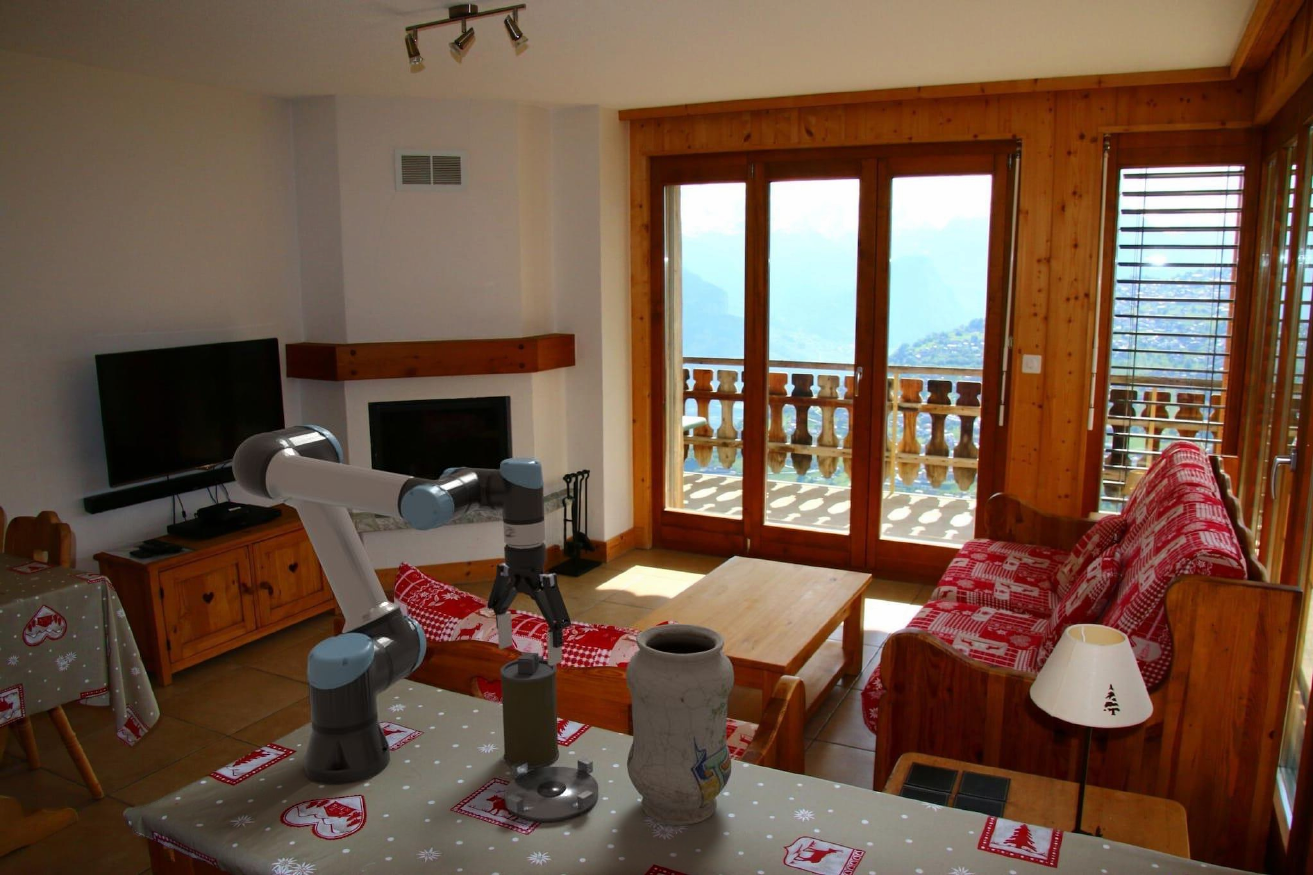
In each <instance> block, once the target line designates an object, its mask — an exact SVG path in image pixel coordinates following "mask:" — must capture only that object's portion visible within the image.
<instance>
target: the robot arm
mask: <svg viewBox="0 0 1313 875" xmlns="http://www.w3.org/2000/svg"><path fill="white" fill-rule="evenodd" d="M343 455H344V454H343V449H342V446H341V445H340V442H339V441H338V439H337V438H336V436H335V435H334V434H333V433H331V431H329V430H327V429H326V428H323V427H321V426H320V425H319V426H318V425H314V424H306V425H305V424H303V425H302V424H301V425H299V424H298V425H294V426H291V427H286V428H282V429H278V430H272V431H269V432H262V433H259V434H255V435H253V436H250V437H248V438H247V439H245V440H244V441H243V442H241V444H240V445H239V446H238V447H237V449H236V451H235V452H234V455H233V458H232V462H231V465H232V467H231V468H232V473H233V477H234V479H235V481H236V483H237V484H238V485H239V487H240V488H242V489H243V490H244V491H245V492H247V493H248V494H251V495H252V496H255V497H258V498H259V497H260V498H264V499H267V500H269V499H270V500H273V501H274V500H275V501H279V502H282V501H283V503H284V505H286V506H289V507H292V508H294V509H296V512H297V515H298V516H299V518H300V520H301V523H302V526H303V528H304V529H305V532H306V534H307V536H308V539H309V541H310V544H311V545H312V547H313V549H314V551H315V554H316V556H317V559H318V560H319V563H320V565H321V567H322V570H323V572H324V574H325V577H326V578H327V581H328V583H329V585H330V587H331V589H332V592H333V594H334V597H335V598H336V601H337V603H338V605H339V607H340V609H341V612H342V614H343V616H344V619H345V623H344V626H343V629H342V631H341V632H342V633H341V634H338V635H337V636H330V637H328V638H326V639H324V640H321V641H320V642H318V643H317V644H316V645H315V646H313V648H312V649H311V650H310V652H309V654H308V656H307V670H306V678H307V682H308V684H307V685H308V696H309V708H310V720H311V732H310V735H309V736H310V737H309V740H308V743H307V744H308V745H307V748H306V752H305V755H304V758H303V759H304V760H303V764H304V774H305V776H306V777H307V778H308V779H309V780H310V781H312V782H315V783H319V784H323V785H344V784H351V783H357V782H359V781H360V782H361V781H363V780H366V779H369V778H371V777H373V776H376V775H377V774H379V773H380V772H382V771H383V770H384V769H385V768H386V767H387V766H388V765H389V763H390V761H391V753H390V752H391V751H390V744H389V742H388V739H387V737H386V735H385V732H384V731H383V729H382V726H381V724H380V722H379V717H378V716H379V714H378V713H379V712H378V698H377V697H378V696H379V695H380V694H381V693H383V692H385V691H386V690H388V689H389V688H390V687H392V686H394V685H395V684H396V683H397V682H400V681H402V680H403V679H406V678H407V677H409V676H410V675H411V674H412V673H413V672H414V671H415V670H416V669H417V668H419V667H420V665H421V664H422V662H423V659H424V658H425V655H426V651H427V639H426V635H425V631H424V629H423V628H422V626H421V625H420V623H419V622H418V621H417V620H416V619H413V618H412V616H410V615H408V614H403V612H402V610H401V608H400V605H399V604H396V603H394V602H391V601H389V600H388V598H387V596H386V593H385V592H384V589H383V587H382V585H381V583H380V580H379V578H378V575H377V574H376V571H375V569H374V568H373V565H372V562H371V561H370V558H369V556H368V554H367V552H366V549H365V547H364V545H363V543H362V540H361V537H360V535H359V533H358V531H357V529H356V526H355V524H354V522H353V520H352V518H351V516H350V513H349V510H350V509H351V510H355V511H361V512H363V513H365V512H366V513H370V514H376V515H381V516H385V517H390V518H396V519H401V520H404V521H405V522H406V523H407V524H408V525H409V526H410V527H411V528H413V529H414V530H417V531H428V530H432V529H438V528H441V527H442V526H443V525H445V524H447V523H450V522H452V521H453V520H456V519H458V518H460V517H463V516H465V515H467V514H470V513H472V512H474V511H501V513H502V523H503V524H502V525H503V542H504V543H505V545H504V547H503V551H504V553H503V554H504V562H502V563H500V564H497V565H496V571H495V572H496V576H495V579H494V582H493V585H492V588H491V591H490V594H489V598H488V601H487V604H486V606H487V608H488V609H490V610H491V609H492V610H493V613H494V614H495V622H496V624H495V626H496V630H497V636H498V638H497V641H498V649H500V650H503V649H505V648H508V647H511V646H513V634H512V632H513V630H512V629H513V628H512V613H511V611H509V610H511V608H510V606H511V605H512V603H513V601H514V600H515V598H516V597H517V595H518V594H524V595H526V596H529V597H530V599H531V600H533V601H534V602H535V604H536V605H537V608H538V609H539V611H540V613H541V615H542V617H543V618H544V620H545V622H546V623H547V625H548V627H549V628H548V629H547V630H546V638H547V639H546V640H547V641H546V643H547V644H546V646H547V660H548V665H550V666H552V665H557V664H559V663H562V662H563V652H562V650H563V649H562V647H563V646H564V632H563V631H564V629H565V628H569V627H571V626H572V621H571V619H570V615H569V612H568V610H567V606H566V604H565V600H564V598H563V597H562V593H561V590H560V587H559V584H558V575H557V574H556V573H555V572H554V573H549V574H545V572H544V566H545V564H546V562H547V546H546V544H545V541H546V538H547V537H546V521H545V520H546V518H545V508H544V506H545V504H544V503H545V499H544V487H545V486H544V485H545V482H544V478H543V466H542V463H541V462H540V461H539V460H538V459H536V458H534V457H512V458H506V459H504V460H502V461H501V462H500V465H499V466H500V467H499V468H498V469H497V468H496V469H495V468H492V469H491V468H475V467H473V468H472V467H467V466H461V467H450V468H447V469H445V470H444V471H443V473H442V474H441V475H440V476H439V479H435V480H434V479H427V478H422V477H415V476H412V475H407V474H400V473H395V472H389V471H385V470H378V469H373V468H372V469H371V468H367V467H363V466H357V465H349V464H345V463H342V461H343V460H344V456H343Z"/></svg>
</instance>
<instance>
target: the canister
mask: <svg viewBox="0 0 1313 875" xmlns="http://www.w3.org/2000/svg"><path fill="white" fill-rule="evenodd" d="M557 671H558V667H557V664H555V665H552V666H550V665H548V659H545V658H544V656H540V654H539V653H538V652H526V651H522V652H521V653H520V656H519V657H518V658H517V659H515V660H511V661H510V662H507V663H505V664H504V665H503V666H502V667H501V668H500V670H499V674H500V676H501V677H500V678H501V692H502V693H501V698H502V700H501V701H502V704H501V705H502V723H503V728H502V729H503V745H504V746H503V748H504V753H503V757H502V758H503V761H504V763H505V764H506V765H508V766H509V767H511V768H512V765H513V764H515V763H517V762H519V761H521V760H523V761H525V762H527V767H528V770H529V771H530V770H535V769H539V768H545V767H549V766H550V765H551V764H553V763H555V762H556V761H557V760H558V758H559V757H560V750H559V738H558V736H559V735H558V733H559V732H558V707H557V706H558V704H557V703H558V702H557V701H558V700H557V698H558V697H557V674H556V673H557Z"/></svg>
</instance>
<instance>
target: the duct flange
mask: <svg viewBox="0 0 1313 875" xmlns="http://www.w3.org/2000/svg"><path fill="white" fill-rule="evenodd" d="M593 772H594V766H593V760H591V759H589V758H586V757H583V756H582V757H581V758H579V759H577V768H574V767H570V766H545V767H541V768H538V769H530V770H529V771H528V767H527V762H525V761H523V760H521V761H519V762H517V763H515V764H513V765H512V767H511V773H512V777H514V778H513V779H512V780H511V781H510V782H509V783H508V784H507V786H506V787H505V791H504V803H505V808H506V809H507V811H508V812H509V813H510V814H511V815H513V816H515V817H516V818H518V819H520V820H523V821H527V822H529V823H530V822H532V823H538V824H552V823H554V822H555V823H562V822H566V821H569V820H573V819H575V818H578V817H581V816H583V815H584V814H587V813H588V812H589V811H591V809H593V808H594V806H595V805H596V804H597V802H598V799H599V785H598V784H599V783H598V782H597V780H596V779H595V777H594V776H593V775H592V774H591V773H593Z"/></svg>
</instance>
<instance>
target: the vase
mask: <svg viewBox="0 0 1313 875" xmlns="http://www.w3.org/2000/svg"><path fill="white" fill-rule="evenodd" d="M635 644H636V646H637V648H638V650H637V651H635V653H634V654H633V655H632V656H631V658H630V659H629V661H628V663H627V667H626V671H625V678H626V679H625V680H626V685H627V688H628V690H629V693H630V696H631V715H632V716H631V717H632V724H633V725H632V726H633V728H632V730H633V731H632V732H633V734H632V735H633V736H632V737H633V738H632V740H633V741H632V743H631V746H630V749H629V752H628V755H627V760H626V767H627V768H626V769H627V773H628V777H629V779H630V781H631V783H632V785H633V787H634V788H635V790H636V791H637V793H638V794H639V795H641V797H642V799H641V807H642V809H643V812H645V814H646V815H647V816H648V817H649V818H650V819H652V820H653V821H656V822H659V824H665V825H670V826H685V825H686V826H687V825H693V824H697V823H701V822H703V821H704V820H706V819H708V818H710V817H712V815H713V814H714V813H715V811H716V809H717V806H718V801H717V797H718V796H719V795H720V793H722V791H723V789H725V787H726V786H727V784H728V782H729V779H730V777H731V774H732V757H731V752H730V750H729V747H728V743H727V721H728V720H727V719H728V698H729V696H730V693H731V691H732V689H733V687H734V683H735V682H734V681H735V674H734V673H735V672H734V666H733V664H732V662H731V660H730V658H729V657H728V656H727V655H726V654H725V652H723V651H722V650H723V648H724V645H725V640H724V636H722V634H721V633H719V632H718V631H716V630H714V629H712V628H709V627H706V626H703V625H702V626H701V625H695V624H686V623H684V624H683V623H671V624H670V623H669V624H662V625H655V626H651V627H648V628H646V629H644V630H641V631H640V632H639V633H638V635H637V636H636V638H635Z"/></svg>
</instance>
